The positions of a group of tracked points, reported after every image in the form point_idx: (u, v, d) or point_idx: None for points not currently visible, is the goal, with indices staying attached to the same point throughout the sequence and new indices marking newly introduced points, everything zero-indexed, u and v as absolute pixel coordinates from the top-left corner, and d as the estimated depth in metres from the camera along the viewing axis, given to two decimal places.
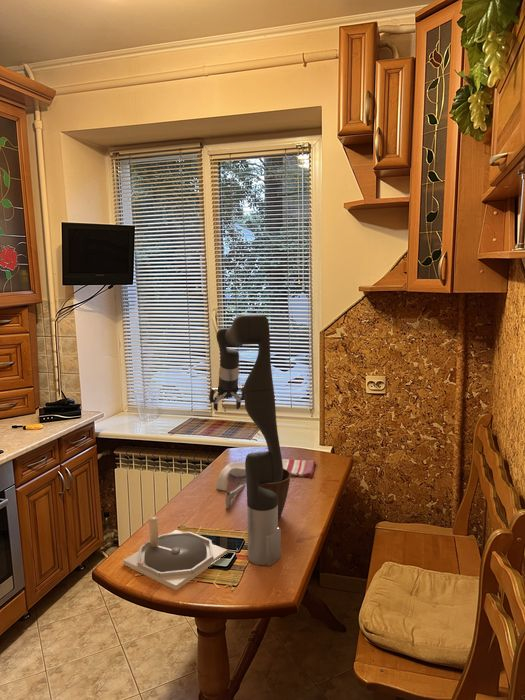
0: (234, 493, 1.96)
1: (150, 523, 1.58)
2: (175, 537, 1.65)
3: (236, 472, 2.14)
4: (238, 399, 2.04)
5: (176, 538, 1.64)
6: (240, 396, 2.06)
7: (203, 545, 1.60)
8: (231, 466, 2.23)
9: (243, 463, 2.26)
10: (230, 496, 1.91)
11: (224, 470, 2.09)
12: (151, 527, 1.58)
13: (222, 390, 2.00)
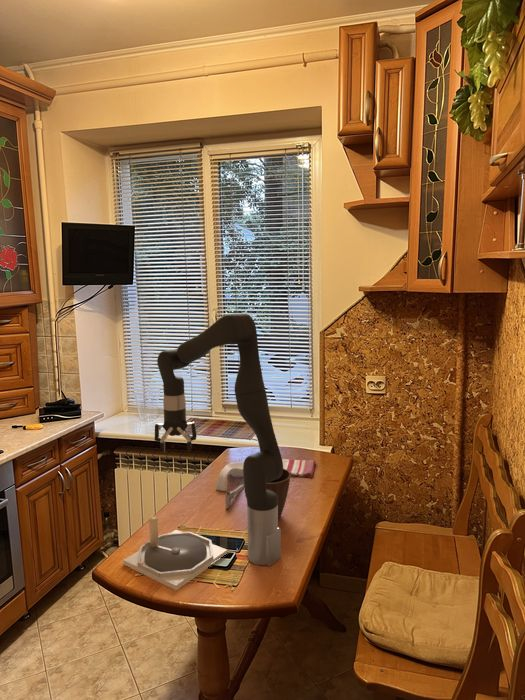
0: (234, 493, 1.96)
1: (150, 523, 1.58)
2: (175, 537, 1.65)
3: (235, 472, 2.13)
4: (187, 438, 1.78)
5: (176, 538, 1.64)
6: (191, 436, 1.80)
7: (203, 545, 1.60)
8: (230, 466, 2.23)
9: (242, 463, 2.25)
10: (230, 496, 1.91)
11: (224, 470, 2.08)
12: (151, 527, 1.58)
13: (168, 425, 1.77)
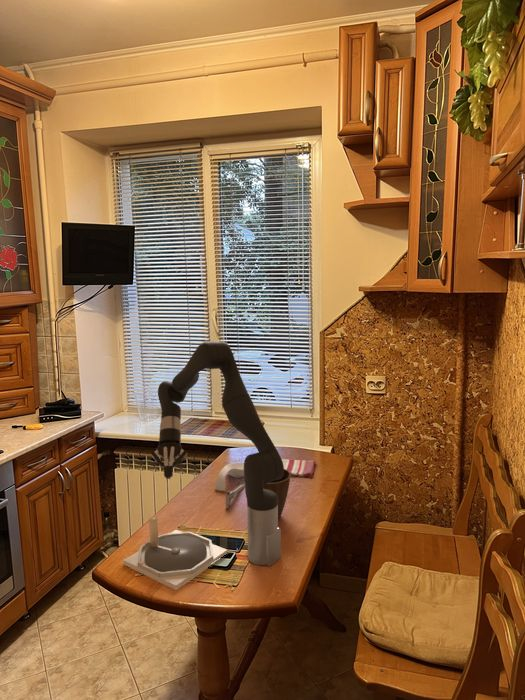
0: (234, 493, 1.96)
1: (150, 523, 1.58)
2: (175, 537, 1.65)
3: (235, 473, 2.13)
4: (169, 462, 1.78)
5: (176, 538, 1.64)
6: None
7: (203, 545, 1.60)
8: (230, 467, 2.23)
9: (242, 464, 2.25)
10: (230, 496, 1.91)
11: (223, 471, 2.08)
12: (151, 527, 1.58)
13: (161, 445, 1.81)
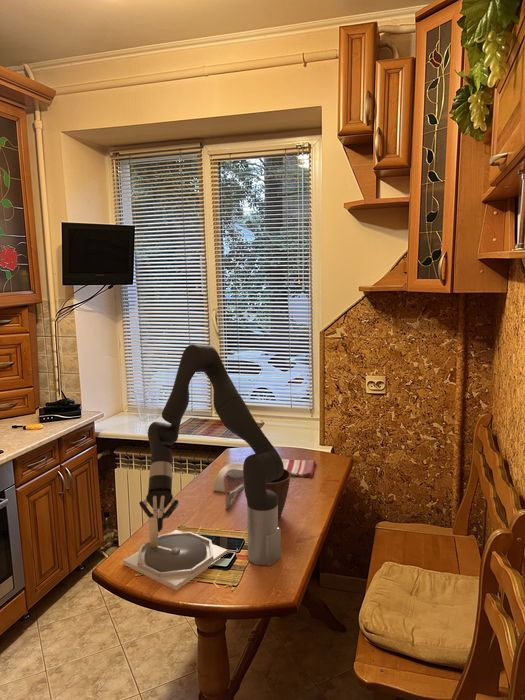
0: (234, 493, 1.96)
1: (150, 523, 1.57)
2: (174, 537, 1.65)
3: (234, 473, 2.13)
4: (159, 513, 1.63)
5: (176, 538, 1.64)
6: None
7: (203, 545, 1.60)
8: (229, 467, 2.22)
9: (241, 464, 2.25)
10: (230, 496, 1.91)
11: (222, 471, 2.08)
12: (151, 527, 1.57)
13: (150, 494, 1.66)
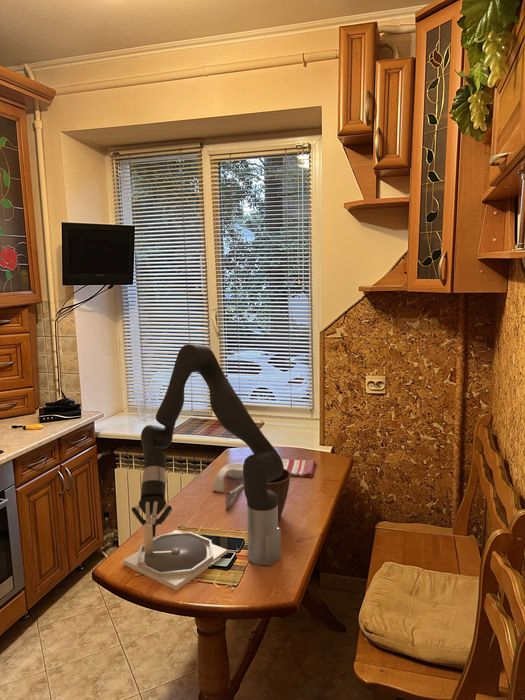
0: (234, 493, 1.96)
1: (146, 530, 1.53)
2: (161, 540, 1.63)
3: (233, 473, 2.12)
4: None
5: (164, 541, 1.62)
6: None
7: (196, 539, 1.63)
8: (229, 467, 2.22)
9: (241, 464, 2.24)
10: (230, 496, 1.91)
11: (221, 471, 2.07)
12: (148, 534, 1.53)
13: (143, 500, 1.62)
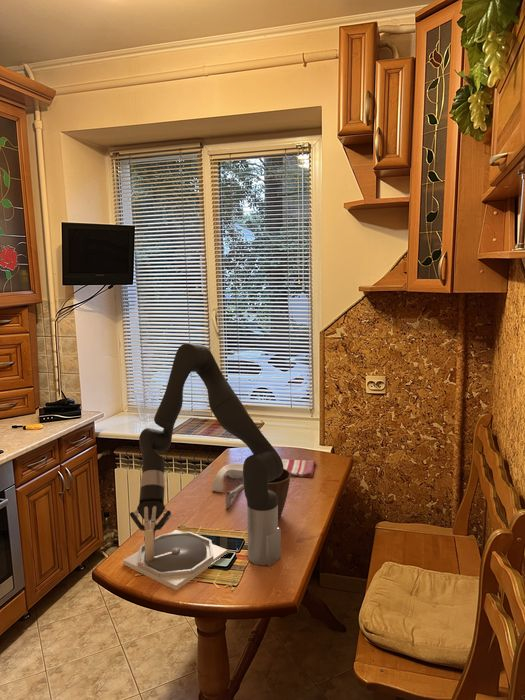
0: (234, 493, 1.96)
1: (149, 536, 1.50)
2: None
3: (233, 473, 2.12)
4: None
5: (156, 545, 1.60)
6: None
7: (186, 537, 1.65)
8: (228, 467, 2.22)
9: (241, 464, 2.24)
10: (230, 496, 1.91)
11: (220, 471, 2.07)
12: (151, 539, 1.50)
13: (142, 505, 1.59)
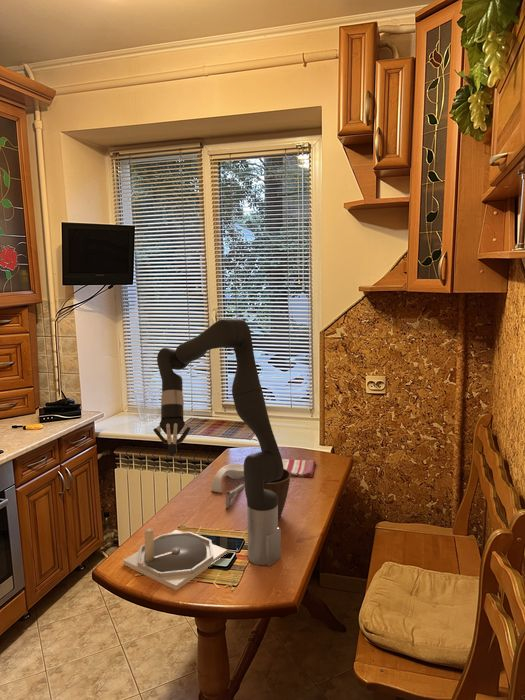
0: (234, 493, 1.96)
1: (149, 536, 1.50)
2: None
3: (232, 474, 2.12)
4: (173, 440, 1.72)
5: (156, 545, 1.60)
6: None
7: (186, 537, 1.65)
8: (228, 468, 2.22)
9: (240, 465, 2.24)
10: (230, 496, 1.91)
11: (219, 472, 2.07)
12: (151, 539, 1.50)
13: (163, 422, 1.74)
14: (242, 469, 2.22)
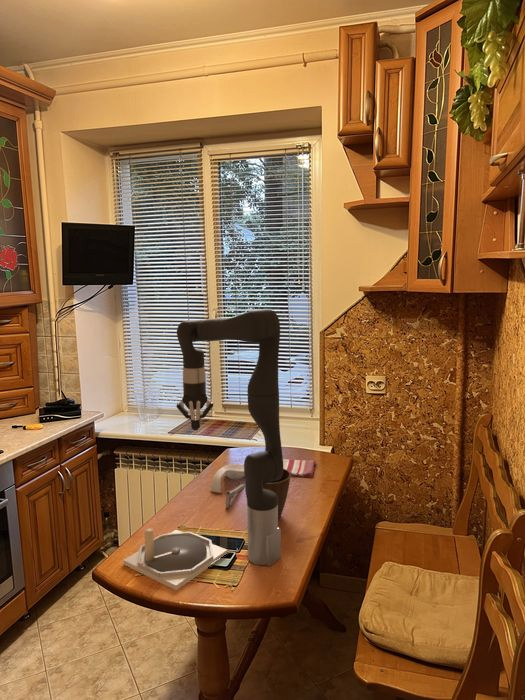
0: (234, 493, 1.96)
1: (149, 536, 1.50)
2: None
3: (231, 474, 2.12)
4: (196, 416, 1.74)
5: (156, 545, 1.60)
6: (199, 414, 1.75)
7: (186, 537, 1.65)
8: (227, 468, 2.21)
9: (240, 465, 2.23)
10: (230, 496, 1.91)
11: (219, 472, 2.07)
12: (151, 539, 1.50)
13: (186, 398, 1.72)
14: (242, 469, 2.22)
